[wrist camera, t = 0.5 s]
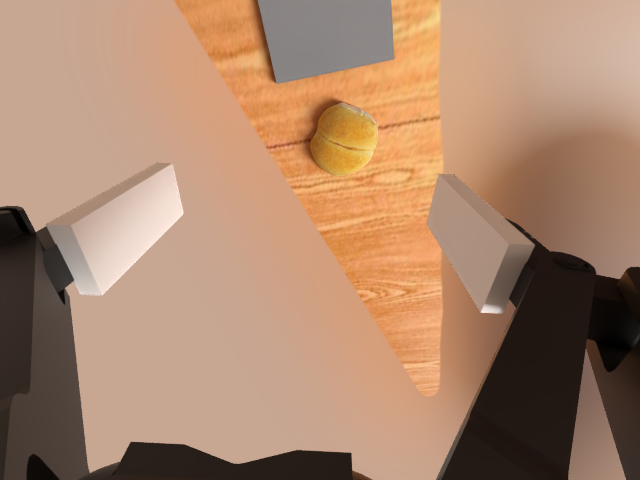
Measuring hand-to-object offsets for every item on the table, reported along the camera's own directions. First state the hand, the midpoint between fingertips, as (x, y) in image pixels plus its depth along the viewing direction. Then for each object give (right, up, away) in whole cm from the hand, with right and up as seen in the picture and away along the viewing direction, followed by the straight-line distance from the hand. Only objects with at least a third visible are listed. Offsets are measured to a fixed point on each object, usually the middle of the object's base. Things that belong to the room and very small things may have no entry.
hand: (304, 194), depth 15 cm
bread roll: (+4, +11, +25) cm, 28 cm away
